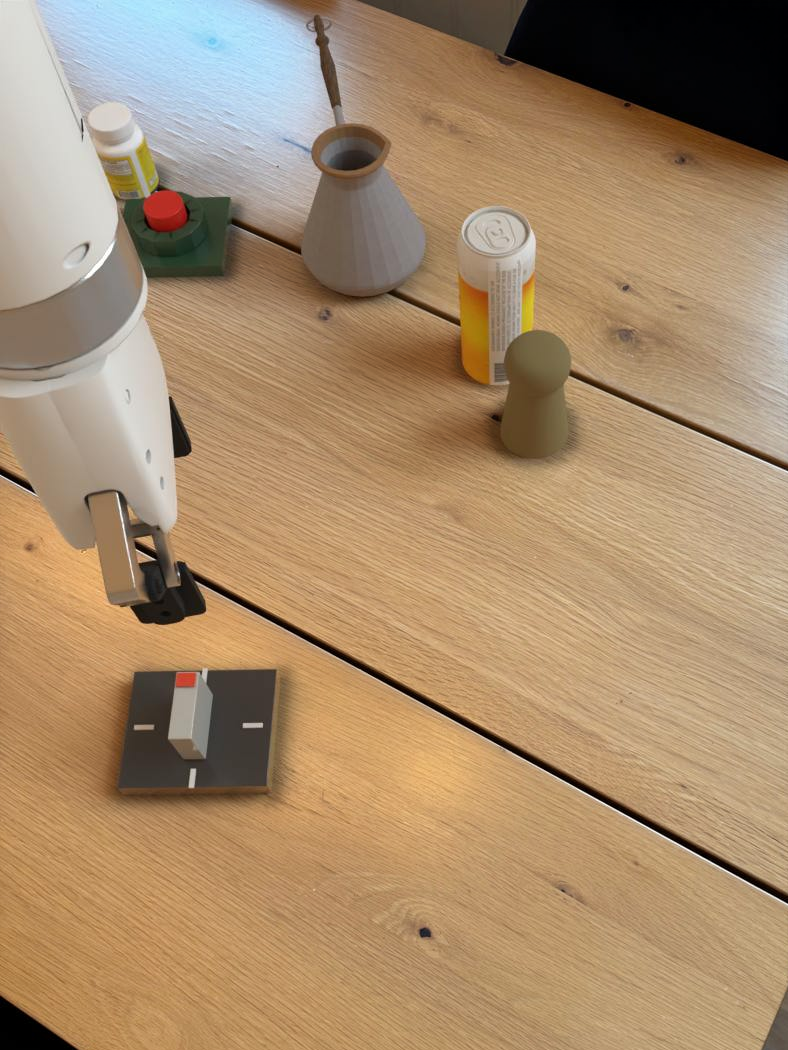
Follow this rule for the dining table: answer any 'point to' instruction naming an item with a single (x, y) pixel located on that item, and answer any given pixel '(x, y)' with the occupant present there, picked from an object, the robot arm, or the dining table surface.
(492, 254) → the beer can
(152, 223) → the power button
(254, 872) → the dining table surface
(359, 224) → the coffee pot
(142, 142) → the supplement bottle
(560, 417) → the olive pawn
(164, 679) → the rotary switch
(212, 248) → the control block
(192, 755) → the hob knob
